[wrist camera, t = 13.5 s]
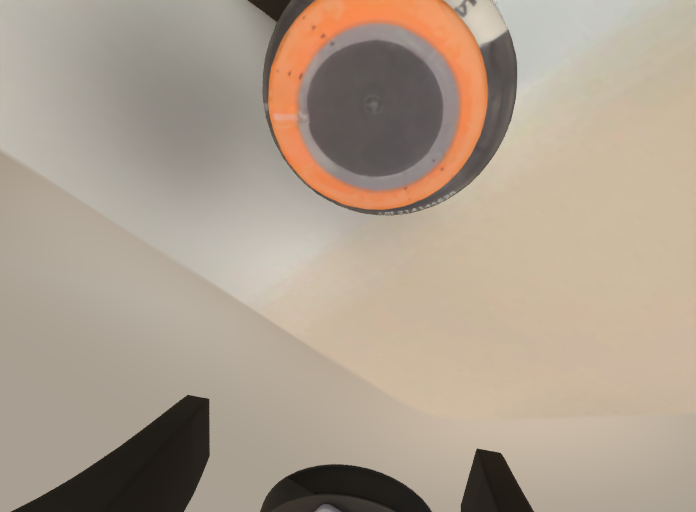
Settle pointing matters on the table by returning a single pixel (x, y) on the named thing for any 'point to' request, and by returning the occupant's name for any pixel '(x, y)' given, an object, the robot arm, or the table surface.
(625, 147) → the table surface
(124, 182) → the table surface
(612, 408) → the table surface
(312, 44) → the pill bottle
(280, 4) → the strip
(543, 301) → the table surface
